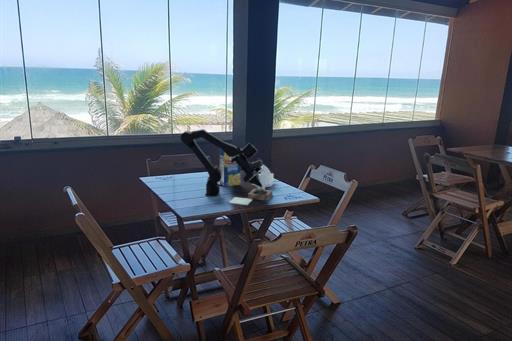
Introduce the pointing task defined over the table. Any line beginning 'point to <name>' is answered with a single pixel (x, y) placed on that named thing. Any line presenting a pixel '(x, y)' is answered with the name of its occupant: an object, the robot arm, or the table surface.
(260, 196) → the walnut stand
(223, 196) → the table surface
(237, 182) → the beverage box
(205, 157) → the robot arm
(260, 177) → the steel tube
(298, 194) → the table surface
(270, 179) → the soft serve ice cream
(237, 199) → the sage mat
